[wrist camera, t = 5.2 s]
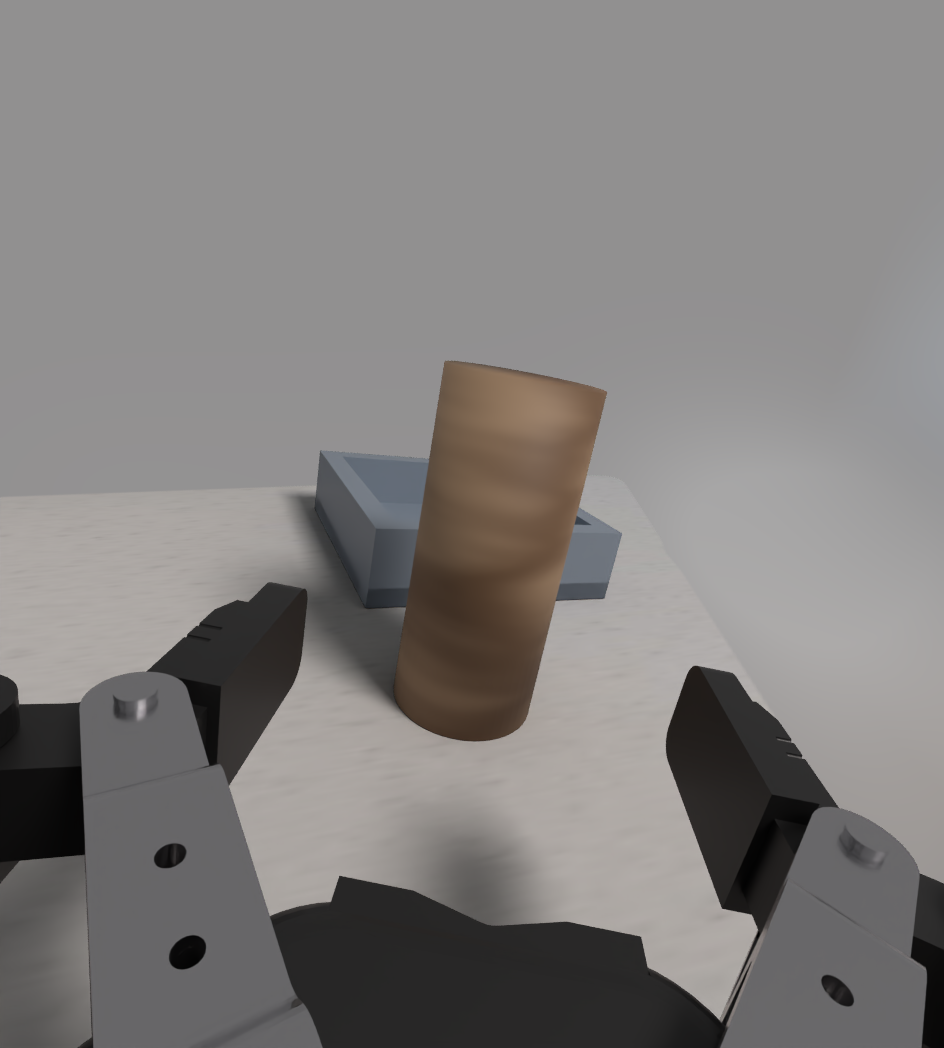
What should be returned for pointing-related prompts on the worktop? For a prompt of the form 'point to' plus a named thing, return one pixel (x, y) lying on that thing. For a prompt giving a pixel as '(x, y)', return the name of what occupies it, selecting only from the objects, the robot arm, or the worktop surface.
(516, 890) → the worktop surface
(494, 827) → the worktop surface
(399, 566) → the tray
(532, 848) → the worktop surface
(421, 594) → the canister
